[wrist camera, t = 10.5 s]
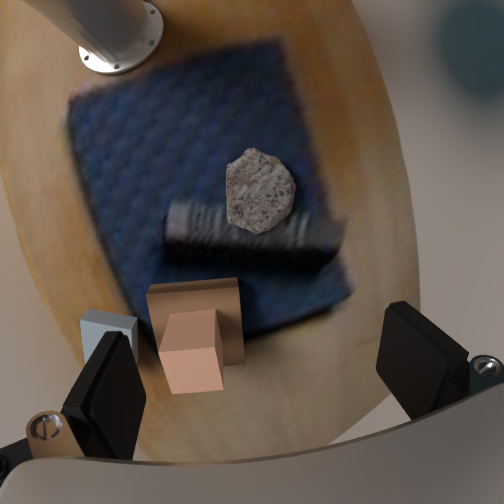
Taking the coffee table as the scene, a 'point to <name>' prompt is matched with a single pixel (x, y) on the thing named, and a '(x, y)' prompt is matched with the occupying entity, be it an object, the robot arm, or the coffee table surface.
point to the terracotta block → (193, 352)
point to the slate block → (101, 322)
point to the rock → (258, 191)
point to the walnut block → (197, 299)
